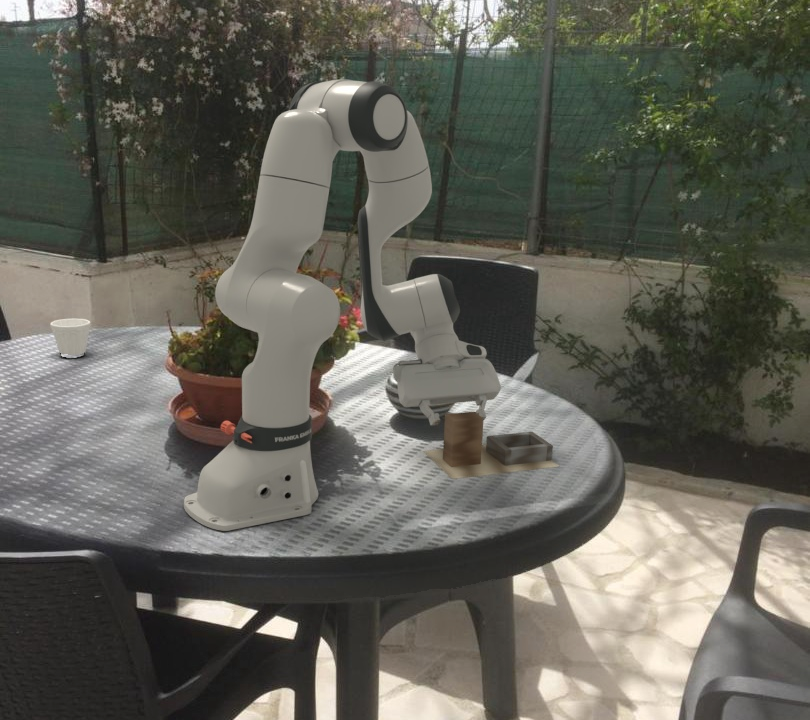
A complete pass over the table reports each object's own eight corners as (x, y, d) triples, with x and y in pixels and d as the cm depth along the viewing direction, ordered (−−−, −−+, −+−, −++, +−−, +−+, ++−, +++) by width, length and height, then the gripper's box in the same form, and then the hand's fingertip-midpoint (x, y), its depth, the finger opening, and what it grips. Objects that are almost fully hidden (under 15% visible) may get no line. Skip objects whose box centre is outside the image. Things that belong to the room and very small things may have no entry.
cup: (78, 349, 230) (75, 316, 228) (100, 355, 225) (98, 322, 222) (44, 356, 222) (42, 322, 220) (67, 363, 217) (64, 328, 214)
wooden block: (451, 467, 154) (453, 421, 151) (442, 459, 157) (445, 414, 155) (480, 463, 156) (483, 418, 153) (471, 456, 159) (474, 411, 157)
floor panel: (451, 486, 149) (453, 463, 148) (422, 458, 161) (423, 436, 160) (559, 473, 156) (561, 451, 155) (523, 447, 169) (525, 426, 168)
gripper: (395, 353, 157) (411, 419, 150) (492, 347, 164) (512, 409, 158) (386, 369, 162) (402, 434, 156) (481, 363, 169) (500, 424, 163)
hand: (458, 421), depth 157 cm, fingers open, 8 cm apart
